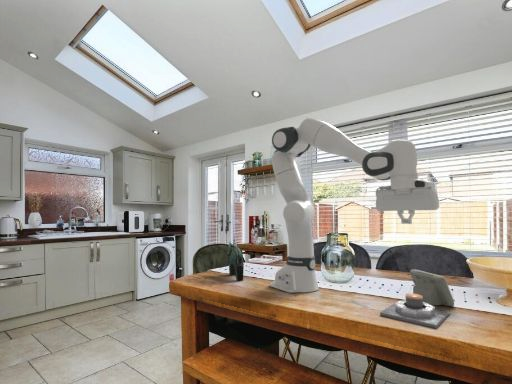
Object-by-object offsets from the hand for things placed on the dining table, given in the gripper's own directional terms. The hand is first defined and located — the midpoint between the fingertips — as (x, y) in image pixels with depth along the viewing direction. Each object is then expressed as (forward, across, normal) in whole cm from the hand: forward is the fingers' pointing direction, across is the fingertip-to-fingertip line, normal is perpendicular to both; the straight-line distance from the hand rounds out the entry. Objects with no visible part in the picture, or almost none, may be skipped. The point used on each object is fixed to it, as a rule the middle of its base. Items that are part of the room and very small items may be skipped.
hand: (406, 223), depth 104 cm
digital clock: (+29, +3, +13) cm, 32 cm away
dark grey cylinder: (+28, +3, -6) cm, 29 cm away
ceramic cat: (+29, -84, -7) cm, 89 cm away
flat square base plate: (+29, +3, -6) cm, 30 cm away
